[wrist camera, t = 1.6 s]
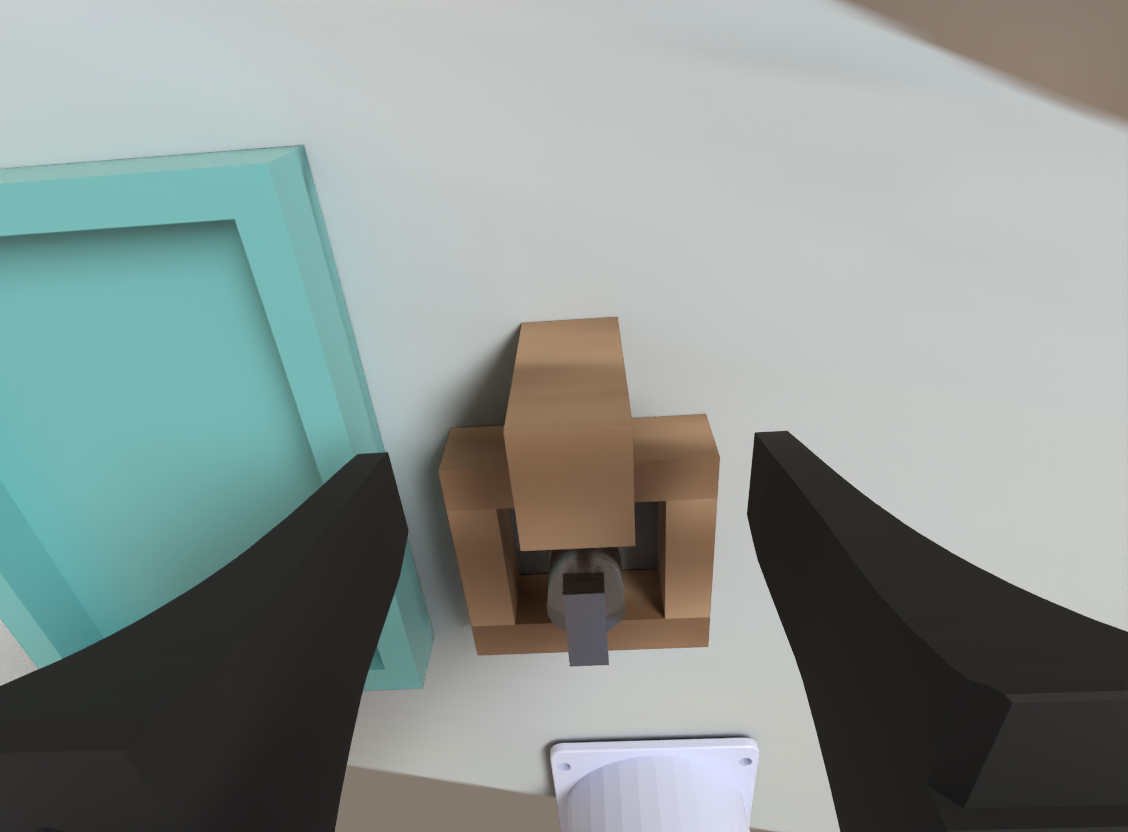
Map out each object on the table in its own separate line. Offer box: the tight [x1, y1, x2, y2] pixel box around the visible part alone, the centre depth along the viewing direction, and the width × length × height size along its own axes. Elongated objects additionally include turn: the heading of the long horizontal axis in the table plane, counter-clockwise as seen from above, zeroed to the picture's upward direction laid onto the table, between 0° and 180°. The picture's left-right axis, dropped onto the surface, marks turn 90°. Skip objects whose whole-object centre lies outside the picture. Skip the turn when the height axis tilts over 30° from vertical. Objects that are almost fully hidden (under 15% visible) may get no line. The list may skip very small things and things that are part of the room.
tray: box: [0, 145, 434, 691], centre depth 18 cm, size 16×12×2 cm
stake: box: [547, 547, 625, 666], centre depth 18 cm, size 3×2×4 cm
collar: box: [438, 317, 720, 655], centre depth 17 cm, size 10×7×5 cm
